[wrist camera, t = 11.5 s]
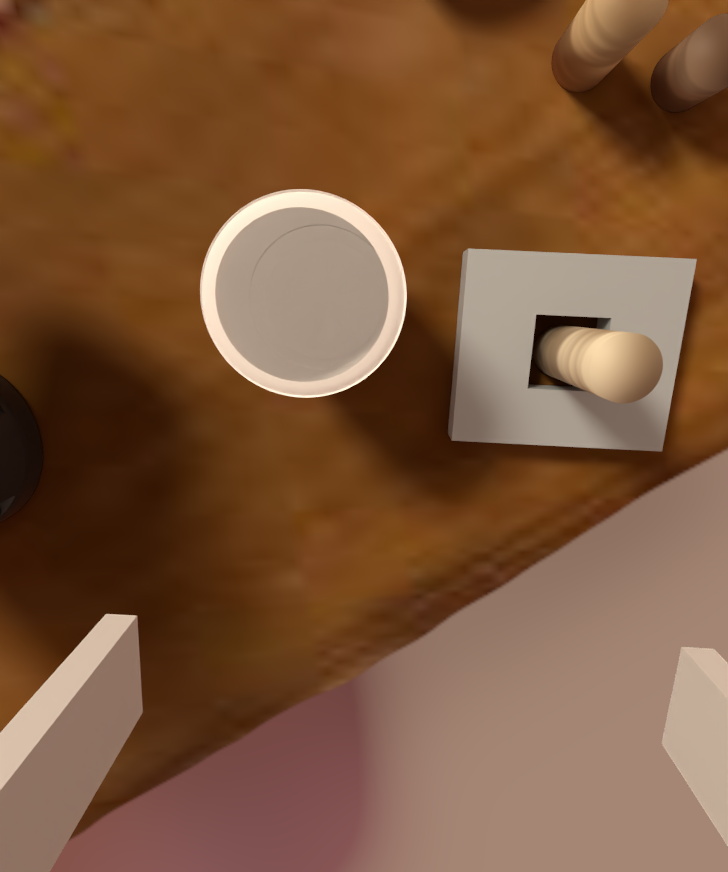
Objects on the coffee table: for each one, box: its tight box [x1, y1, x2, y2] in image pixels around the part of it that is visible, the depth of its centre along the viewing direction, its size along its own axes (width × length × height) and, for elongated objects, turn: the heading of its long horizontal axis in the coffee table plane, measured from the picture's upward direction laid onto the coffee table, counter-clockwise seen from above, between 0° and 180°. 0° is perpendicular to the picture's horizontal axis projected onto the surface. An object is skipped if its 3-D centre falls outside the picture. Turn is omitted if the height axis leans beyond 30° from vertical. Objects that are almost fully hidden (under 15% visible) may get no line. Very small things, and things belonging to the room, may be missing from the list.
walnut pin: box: [651, 13, 728, 112], centre depth 35 cm, size 4×4×5 cm
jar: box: [200, 189, 407, 397], centre depth 35 cm, size 11×10×15 cm
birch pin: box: [533, 325, 663, 403], centre depth 37 cm, size 4×4×12 cm
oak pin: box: [552, 0, 669, 92], centre depth 34 cm, size 4×4×8 cm
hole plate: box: [448, 249, 697, 452], centre depth 41 cm, size 16×14×2 cm
